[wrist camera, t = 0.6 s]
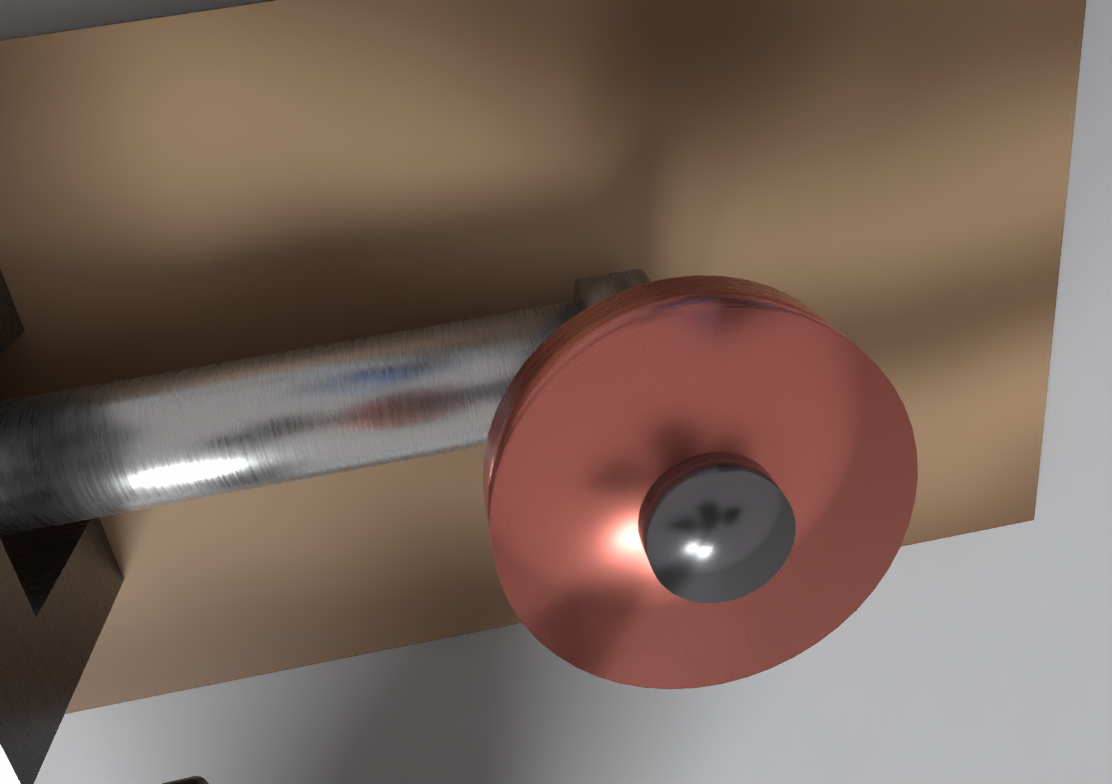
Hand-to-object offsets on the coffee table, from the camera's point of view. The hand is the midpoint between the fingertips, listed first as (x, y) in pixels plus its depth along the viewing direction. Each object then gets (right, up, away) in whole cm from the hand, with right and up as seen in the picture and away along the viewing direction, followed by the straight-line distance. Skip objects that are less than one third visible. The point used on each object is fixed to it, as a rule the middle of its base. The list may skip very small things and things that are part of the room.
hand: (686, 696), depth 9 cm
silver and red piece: (-7, +3, +10) cm, 13 cm away
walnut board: (-4, +4, +11) cm, 12 cm away
